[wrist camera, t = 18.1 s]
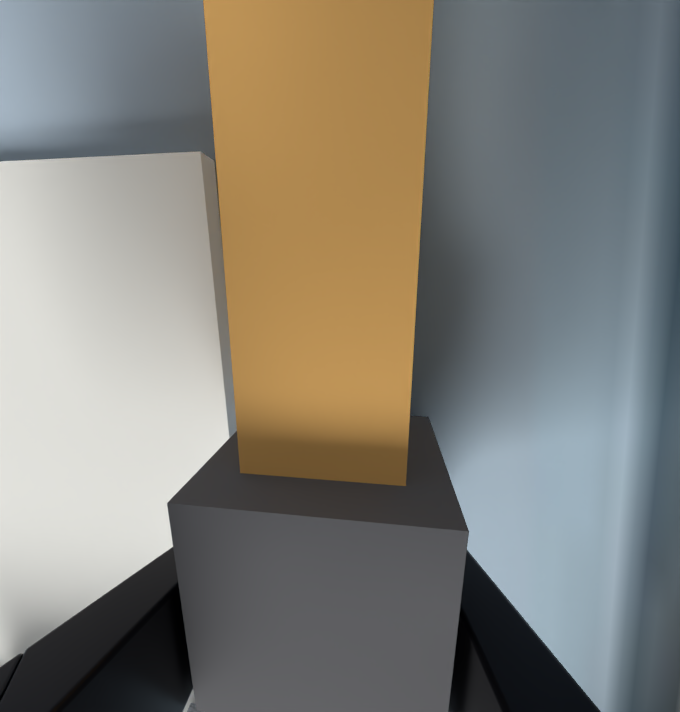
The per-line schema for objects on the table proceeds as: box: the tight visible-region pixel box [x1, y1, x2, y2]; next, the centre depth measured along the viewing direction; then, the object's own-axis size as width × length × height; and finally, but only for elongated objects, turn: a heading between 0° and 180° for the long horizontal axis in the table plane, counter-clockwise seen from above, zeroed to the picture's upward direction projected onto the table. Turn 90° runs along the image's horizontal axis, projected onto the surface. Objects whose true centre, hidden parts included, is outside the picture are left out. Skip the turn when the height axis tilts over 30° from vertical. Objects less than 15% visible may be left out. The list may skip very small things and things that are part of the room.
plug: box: [167, 0, 469, 712], centre depth 5 cm, size 4×14×3 cm, turn 0°
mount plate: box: [0, 151, 237, 712], centre depth 12 cm, size 12×38×1 cm, turn 0°
